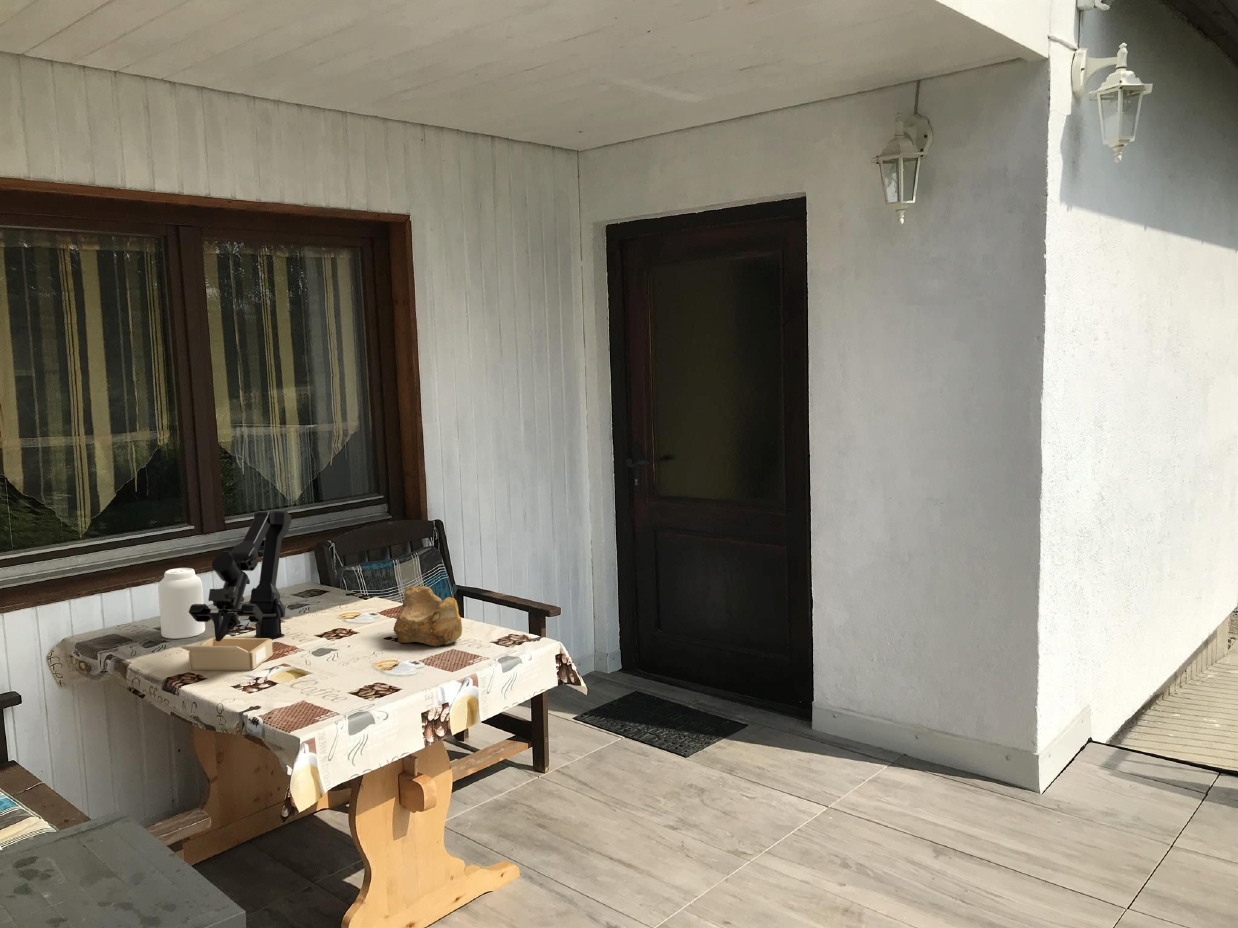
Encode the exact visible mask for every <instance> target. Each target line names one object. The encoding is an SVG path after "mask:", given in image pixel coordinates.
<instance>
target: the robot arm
mask: <svg viewBox="0 0 1238 928" xmlns="http://www.w3.org/2000/svg"><path fill="white" fill-rule="evenodd" d="M291 523H292V515H291V514H290V513H289V512H288V511H287V510H285V509H284V510H282V509H281V510H280V509H279V510H275V509H274V510H273V509H272V510H269V509H268V510H265V511H263V510H259V511H255V513H254V515H253V521H252V522H251V524H250V526H249V528H248V530H247V532H246V533H245V536H244V537H243V540H242V541H241V543H239V544H238V545H236V546H234V547H233V548H232V550H231V551H230V550H224V551H222V554H219V555H218V556H216V557H215V558H214V559H213V561H212V563H211V567H212V569H213V571H214V572H215V573H216V575H217V576H218V577H219V578H220V580H221V581H223V582H224V583H223V587H222V588H210V589H209V593H208V600H207V601H208V602H212V605H213V606H214V607H210V608H209V606H208V605H207V604H206V603H204V604H193V605H191V607H190V609H189V613H190V615H191V616H192V617H193V618H194V619H195V621H197V622H205V623H208V622H210V621H212V623H213V625H214V638H215V640H216V641H217V642H220V641H221V640H222V639H223V638H226V637H225V636H227V635H228V633H229V632H231V631H232V630H233V629H234V628H235V627H237V626H239V625H241V618H242V617H248V618H247V619H248V621H249V622H250V623H255V625H254V626H255V635H254V638H267V639H272V640H274V639H278V638H281V637H285V634H284V633H283V632H282V622H281V621H282V618H285V615H286V607H285V605H284V604H283V603H282V601H281V595H280V594H281V593H280V592H279V590H278V588H277V578H278V571H279V564H280V556H281V549H282V548H281V547H282V541H283V539H284V538H285V537H286V535H287V534H288V532H289V530H290V526H291ZM263 541H264V544H263V545H264V546H263V551H262V553H263V554H262V561H261V567H260V574H259V575H260V576H259V581H258V582H259V583H258V585H257V586H256V587H253V588H252V589H251V591H250V598H249V602H248V603H244V601H245V597H244V593H245V590H246V587H247V585H250V583H251V581H250V578H249V576H248V574H247V573H246V572H252V571H254V570H255V569H256V568H257V566H258V564H259V559H260V558H259V554H258V551H259V549H260V547H261V544H262V543H263ZM242 603H244V604H242ZM241 604H242V605H241ZM240 607H241V608H240Z"/></svg>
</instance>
